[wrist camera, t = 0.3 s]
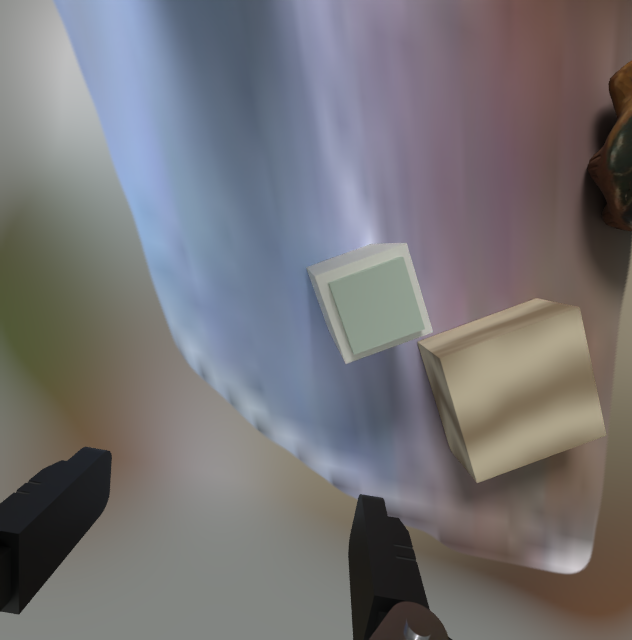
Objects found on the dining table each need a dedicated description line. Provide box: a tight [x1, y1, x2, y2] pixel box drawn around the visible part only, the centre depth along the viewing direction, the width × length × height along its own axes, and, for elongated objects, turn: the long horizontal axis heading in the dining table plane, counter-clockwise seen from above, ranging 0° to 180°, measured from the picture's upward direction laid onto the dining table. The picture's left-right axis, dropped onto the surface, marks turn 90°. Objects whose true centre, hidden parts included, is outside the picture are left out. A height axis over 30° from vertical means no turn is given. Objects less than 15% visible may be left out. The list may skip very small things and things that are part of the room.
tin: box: [306, 243, 433, 364], centre depth 27 cm, size 6×6×10 cm
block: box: [417, 298, 606, 483], centre depth 32 cm, size 11×11×5 cm
